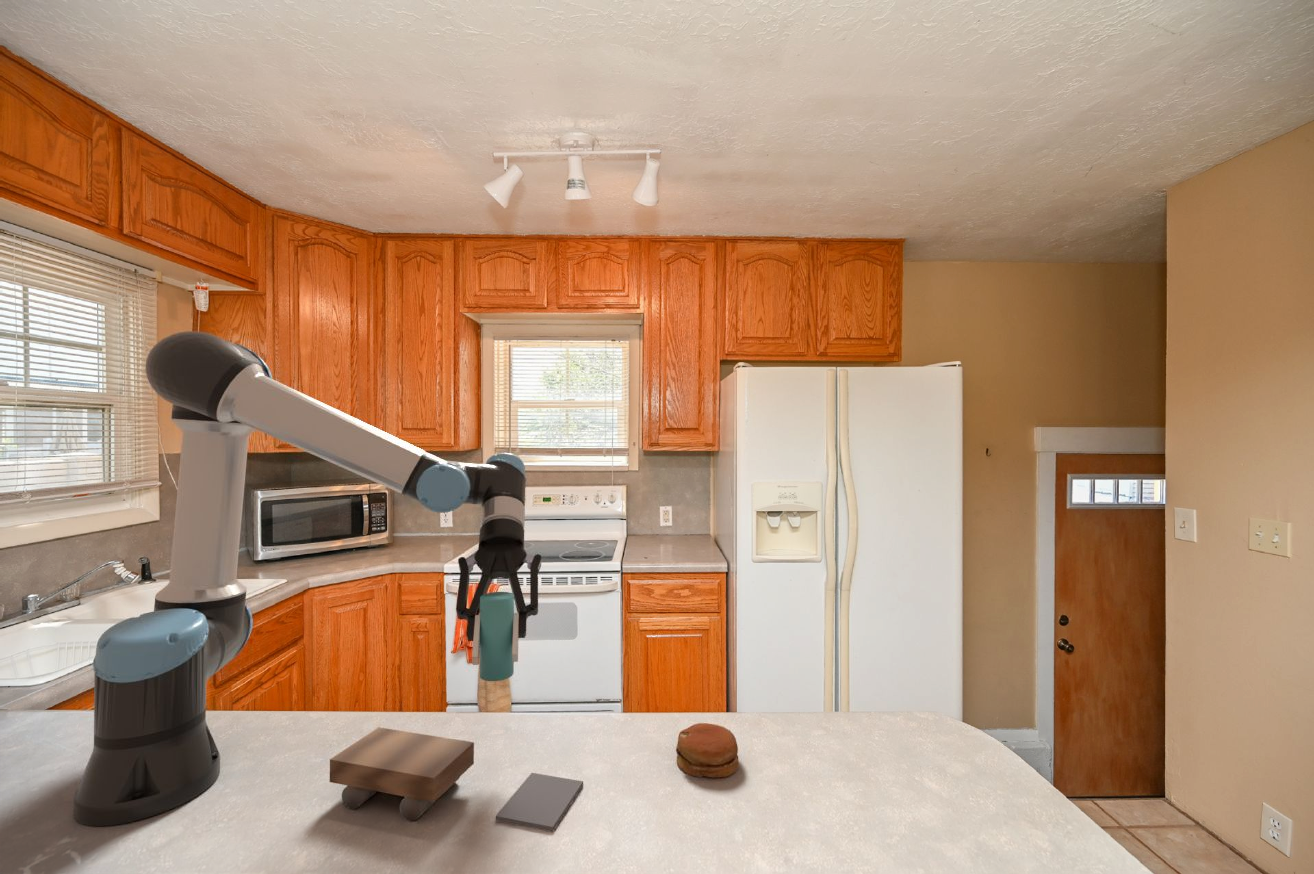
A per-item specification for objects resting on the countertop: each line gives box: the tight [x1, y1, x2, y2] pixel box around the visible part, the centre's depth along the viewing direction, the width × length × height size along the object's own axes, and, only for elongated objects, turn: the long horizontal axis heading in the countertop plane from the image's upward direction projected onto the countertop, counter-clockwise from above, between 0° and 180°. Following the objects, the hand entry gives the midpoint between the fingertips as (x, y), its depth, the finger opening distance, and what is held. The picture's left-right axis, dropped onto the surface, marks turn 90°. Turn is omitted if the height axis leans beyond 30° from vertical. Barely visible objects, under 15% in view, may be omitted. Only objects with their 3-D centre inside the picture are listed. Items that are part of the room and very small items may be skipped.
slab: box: [329, 726, 475, 822], centre depth 79 cm, size 16×9×6 cm, turn 75°
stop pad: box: [494, 772, 584, 833], centre depth 77 cm, size 8×10×1 cm
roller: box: [479, 591, 515, 682], centre depth 88 cm, size 5×5×12 cm
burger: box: [675, 722, 739, 779], centre depth 88 cm, size 10×9×5 cm
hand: (495, 659), depth 84 cm, fingers closed on roller, 5 cm apart
